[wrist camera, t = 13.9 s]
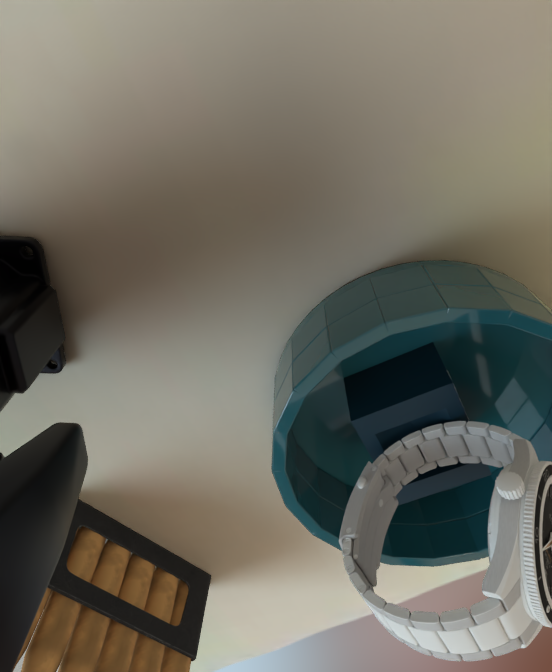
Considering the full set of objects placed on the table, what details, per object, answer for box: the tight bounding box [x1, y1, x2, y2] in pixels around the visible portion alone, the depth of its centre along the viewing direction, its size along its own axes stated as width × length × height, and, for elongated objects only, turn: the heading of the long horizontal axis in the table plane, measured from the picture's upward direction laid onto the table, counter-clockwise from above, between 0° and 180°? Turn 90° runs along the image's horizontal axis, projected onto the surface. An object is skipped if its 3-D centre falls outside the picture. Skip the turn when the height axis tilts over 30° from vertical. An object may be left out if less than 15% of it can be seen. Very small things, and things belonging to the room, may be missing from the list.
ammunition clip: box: [12, 500, 211, 672], centre depth 25 cm, size 11×2×12 cm, turn 47°
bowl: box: [272, 260, 552, 567], centre depth 23 cm, size 14×14×4 cm
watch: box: [339, 342, 552, 661], centre depth 19 cm, size 6×8×11 cm
